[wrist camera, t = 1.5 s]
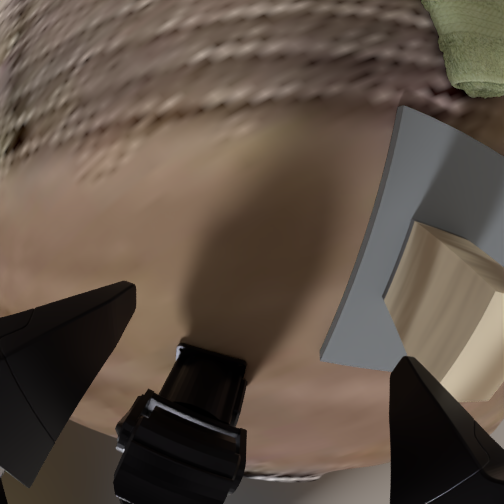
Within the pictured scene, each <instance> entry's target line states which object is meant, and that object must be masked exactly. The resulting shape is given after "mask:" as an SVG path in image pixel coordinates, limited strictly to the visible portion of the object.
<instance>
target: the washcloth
mask: <svg viewBox="0 0 504 504" xmlns="http://www.w3.org/2000/svg"><path fill="white" fill-rule="evenodd" d="M421 3H422V4H423V5H424V8H425V9H426V10H427V11H429V13H430V16H431V19H432V21H433V23H434V26H435V28H436V30H437V32H438V35H439V39H438V44H439V48H440V51H442V52H443V53H444V54H443V59H444V60H445V63H444V64H445V67H446V72H447V76H448V79H449V80H450V83H451V85H452V86H453V87H455V88H459V89H462V90H464V91H465V92H466V94H468V96H470V97H472V98H475V97H482V98H485V99H486V98H487V97H491V98H492V97H496V96H498V97H500V96H503V95H504V0H421Z"/></svg>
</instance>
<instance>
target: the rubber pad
mask: <svg viewBox="0 0 504 504" xmlns="http://www.w3.org/2000/svg"><path fill="white" fill-rule="evenodd" d="M411 218H412V219H415V220H418V221H420V222H423V223H426V224H429V225H432V226H435V227H438V228H440V229H443V230H446V231H449V232H451V233H454V234H457V235H459V236H462V237H464V238H466V239H467V240H469V241H470V242H471V243H473V244H474V245H476V246H477V247H478V248H480V249H481V250H482V251H484V252H485V253H486V254H488V255H489V256H490V257H491V258H493V259H494V260H495V261H496V262H498V263H499V264H500V265H501V266H503V267H504V157H503V156H502V155H500V154H499V153H497V152H496V151H494V150H492V149H491V148H489V147H487V146H486V145H484V144H482V143H481V142H479V141H477V140H475V139H474V138H472V137H470V136H468V135H466V134H465V133H463V132H461V131H459V130H457V129H455V128H453V127H451V126H449V125H447V124H445V123H443V122H441V121H439V120H437V119H435V118H433V117H430V116H428V115H426V114H424V113H421V112H419V111H417V110H414V109H412V108H410V107H407V106H405V105H403V106H400V107H398V109H397V114H396V119H395V124H394V129H393V133H392V138H391V142H390V147H389V151H388V155H387V159H386V163H385V167H384V171H383V175H382V179H381V182H380V186H379V190H378V193H377V197H376V200H375V204H374V207H373V210H372V214H371V217H370V220H369V223H368V227H367V230H366V233H365V236H364V239H363V242H362V245H361V248H360V251H359V254H358V257H357V260H356V262H355V265H354V268H353V271H352V273H351V276H350V279H349V282H348V284H347V287H346V290H345V292H344V295H343V297H342V300H341V302H340V305H339V307H338V310H337V312H336V315H335V317H334V320H333V322H332V324H331V327H330V329H329V331H328V334H327V336H326V338H325V341H324V343H323V345H322V347H321V350H320V361H323V362H329V363H335V364H341V365H347V366H353V367H360V368H367V369H374V370H382V371H390V372H392V371H393V369H394V368H395V367H396V365H397V364H398V362H399V361H400V359H401V358H402V357H403V356H407V353H406V351H405V348H404V346H403V343H402V341H401V338H400V336H399V334H398V331H397V329H396V327H395V324H394V322H393V320H392V318H391V315H390V313H389V311H388V309H387V307H386V304H385V302H384V300H383V298H382V295H383V293H384V290H385V288H386V286H387V283H388V281H389V278H390V276H391V273H392V271H393V268H394V266H395V263H396V261H397V258H398V255H399V253H400V250H401V247H402V245H403V242H404V239H405V236H406V233H407V230H408V228H409V225H410V222H411Z"/></svg>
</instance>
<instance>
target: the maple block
mask: <svg viewBox="0 0 504 504" xmlns="http://www.w3.org/2000/svg"><path fill="white" fill-rule="evenodd" d="M382 298H383V300H384V302H385V304H386V307H387V309H388V311H389V313H390V315H391V318H392V320H393V322H394V324H395V327H396V329H397V331H398V334H399V336H400V338H401V341H402V343H403V346H404V348H405V351H406V353H407V356H411V357H415V358H416V359H417V360H418V361H419V362H420V363H421V364H422V365H423V366H424V367H425V368H426V369H427V370H428V371H429V372H430V373H431V374H432V375H433V376H434V377H435V378H436V379H437V380H438V381H439V383H440V384H441V385H442V386H443V387H444V388H445V389H446V390H447V391H448V392H449V393H450V394H451V395H452V396H453V397H454V398H455V399H456V400H457V401H458V402H478V401H488V400H489V399H490V398H491V397H492V395H493V394H494V393H495V392H496V390H497V389H498V388H499V387H500V385H501V384H502V383H503V381H504V267H503V266H501V265H500V264H499V263H498V262H496V261H495V260H494V259H493V258H491V257H490V256H489V255H488V254H486V253H485V252H484V251H482V250H481V249H480V248H478V247H477V246H476V245H474V244H473V243H471V242H470V241H469V240H467V239H466V238H464V237H462V236H459V235H457V234H454V233H451V232H449V231H446V230H443V229H440V228H438V227H435V226H432V225H429V224H426V223H423V222H420V221H418V220H415V219H412V218H411V222H410V225H409V228H408V230H407V233H406V236H405V239H404V242H403V245H402V247H401V250H400V253H399V255H398V258H397V261H396V263H395V266H394V268H393V271H392V273H391V276H390V278H389V281H388V283H387V286H386V288H385V290H384V293H383V295H382Z"/></svg>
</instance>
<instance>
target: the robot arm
mask: <svg viewBox="0 0 504 504" xmlns="http://www.w3.org/2000/svg"><path fill="white" fill-rule="evenodd" d="M135 309H136V286H135V284H133V283H130V282H127V281H121V282H118V283H114V284H111V285H108V286H104V287H101V288H98V289H95V290H91V291H88V292H85V293H81V294H78V295H75V296H72V297H68V298H65V299H62V300H59V301H56V302H52V303H49V304H46V305H43V306H39V307H36V308H35V309H30V310H27V311H23V312H20V313H16V314H13V315H9V316H5V317H1V318H0V504H8V503H7V499H6V496H5V492H4V489H3V485H2V481H1V477H2V475H3V473H4V472H5V471H7V472H8V473H9V474H11V475H12V476H13V477H14V478H16V479H17V480H18V481H20V482H21V483H22V484H24V485H25V486H26V487H28V488H30V487H31V485H32V483H33V482H34V480H35V478H36V476H37V474H38V472H39V470H40V468H41V467H42V465H43V463H44V461H45V459H46V458H47V456H48V454H49V452H50V451H51V449H52V447H53V445H54V444H55V442H54V441H56V440H57V438H58V436H59V435H60V433H61V431H62V430H63V428H64V426H65V425H66V423H67V421H68V420H69V418H70V416H71V415H72V413H73V412H74V410H75V408H76V407H77V405H78V403H79V402H80V400H81V399H82V397H83V396H84V394H85V392H86V391H87V389H88V388H89V386H90V385H91V383H92V382H93V380H94V378H95V377H96V375H97V374H98V372H99V371H100V369H101V368H102V366H103V365H104V363H105V362H106V360H107V359H108V357H109V356H110V354H111V353H112V352H113V350H114V348H115V347H116V345H117V343H118V342H119V340H120V338H121V336H122V334H123V332H124V330H125V328H126V326H127V325H128V323H129V321H130V319H131V317H132V315H133V313H134V312H135ZM181 348H182V349H181ZM240 365H242V366H240ZM246 366H247V363H246V362H245V361H243V360H240V359H236V358H232V357H229V356H225V355H221V354H217V353H214V352H210V351H207V350H203V349H200V348H196V347H193V346H190V345H186V344H183V343H180V344H178V346H177V350H176V362H175V364H174V366H173V368H172V370H171V372H170V374H169V376H168V378H167V380H166V381H165V383H164V385H163V387H162V389H161V391H160V393H159V395H158V394H156V393H154V391H152V390H150V389H148V390H147V392H146V393H145V395H143V394H142V396H138V397H137V399H136V400H135V402H134V404H133V406H132V407H131V409H130V410H129V411H128V412H127V414H126V415H125V416H124V417H123V418H122V419H121V420H120V421H119V422H118V424H117V425H116V428H115V429H116V432H117V434H118V439H117V441H118V443H117V447H116V450H117V451H119V452H121V453H123V455H122V457H121V459H120V462H119V464H118V466H117V469H116V471H115V474H114V482H113V484H114V490H115V495H116V496H117V497H119V499H120V503H121V504H223V503H224V501H225V499H226V497H227V495H231V494H232V493H234V491H235V490H236V489H237V487H238V486H239V484H240V482H241V479H242V477H243V474H244V470H245V465H246V439H247V430H245V429H242V428H240V429H239V428H236V424H237V421H238V418H239V415H240V412H241V407H242V403H243V399H244V395H245V390H246V386H247V381H246V379H243V377H244V373H245V369H246ZM389 424H390V448H391V489H390V504H504V449H503V448H502V447H501V446H500V445H499V444H498V443H497V442H495V440H493V439H492V438H491V437H490V436H489V435H488V433H487V432H486V431H485V430H484V429H483V428H482V427H481V426H480V425H479V424H478V423H477V422H476V421H475V420H474V418H473V417H472V416H471V415H470V414H469V413H468V412H467V411H466V410H465V409H464V408H463V407H462V406H461V405H460V403H459V402H458V401H457V400H456V399H455V398H454V397H453V396H452V395H451V394H450V393H449V392H448V391H447V390H446V389H445V388H444V387H443V386H442V385H441V384H440V383H439V381H438V380H437V379H436V378H435V377H434V376H433V375H432V374H431V373H430V372H429V371H428V370H427V369H426V368H425V367H424V366H423V365H422V364H421V363H420V362H419V361H418V360H417V359H416V358H415V357H411V356H403V357H402V358H401V359H400V361H399V362H398V364H397V365H396V367H395V368H394V369H393V371H392V373H391V375H390V401H389Z"/></svg>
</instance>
